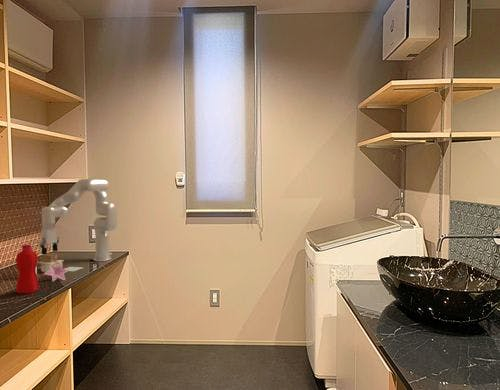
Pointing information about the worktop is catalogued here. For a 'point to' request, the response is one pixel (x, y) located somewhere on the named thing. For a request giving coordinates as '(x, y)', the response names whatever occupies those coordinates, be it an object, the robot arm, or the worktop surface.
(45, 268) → the bowl
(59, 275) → the lily
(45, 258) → the lid
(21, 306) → the worktop surface
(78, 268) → the mat
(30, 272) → the water bottle
